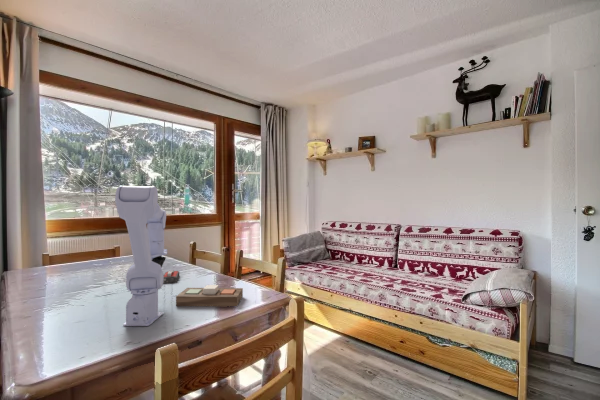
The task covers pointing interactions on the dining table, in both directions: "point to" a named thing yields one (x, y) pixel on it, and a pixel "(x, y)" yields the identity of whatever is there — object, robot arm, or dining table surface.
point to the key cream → (210, 289)
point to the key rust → (228, 292)
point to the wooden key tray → (209, 298)
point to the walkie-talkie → (171, 276)
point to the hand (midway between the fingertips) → (155, 277)
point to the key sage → (194, 291)
